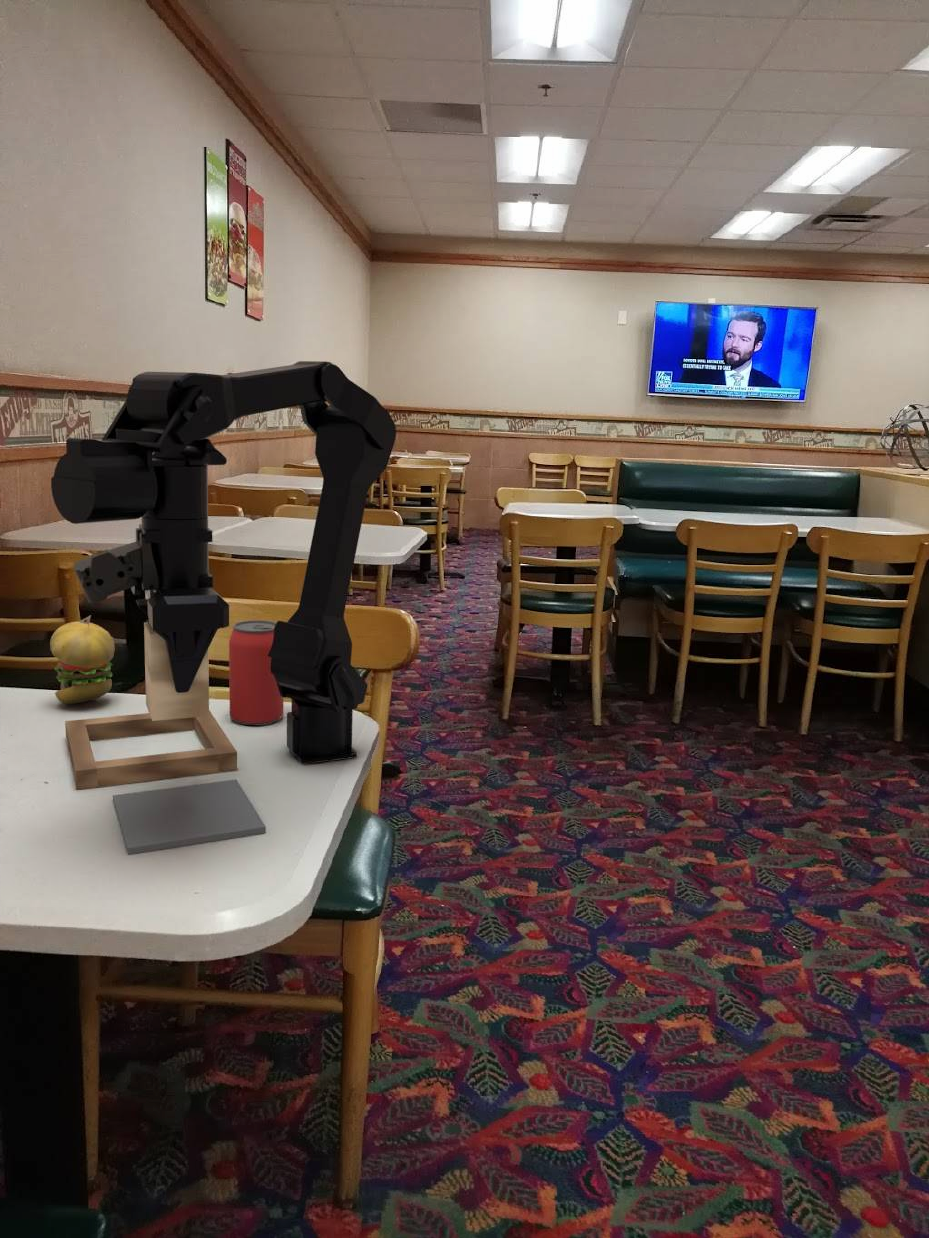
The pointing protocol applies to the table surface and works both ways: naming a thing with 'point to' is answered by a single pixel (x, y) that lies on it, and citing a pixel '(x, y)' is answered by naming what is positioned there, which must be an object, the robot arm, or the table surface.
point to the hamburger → (82, 660)
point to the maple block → (172, 684)
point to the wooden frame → (150, 767)
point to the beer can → (253, 674)
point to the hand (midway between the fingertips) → (177, 684)
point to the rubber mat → (185, 816)
